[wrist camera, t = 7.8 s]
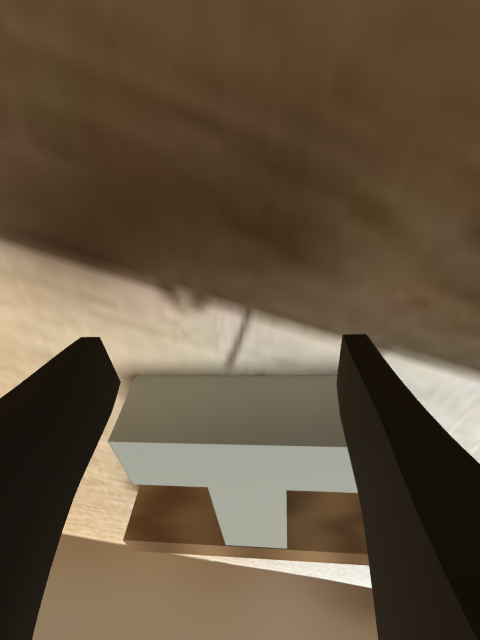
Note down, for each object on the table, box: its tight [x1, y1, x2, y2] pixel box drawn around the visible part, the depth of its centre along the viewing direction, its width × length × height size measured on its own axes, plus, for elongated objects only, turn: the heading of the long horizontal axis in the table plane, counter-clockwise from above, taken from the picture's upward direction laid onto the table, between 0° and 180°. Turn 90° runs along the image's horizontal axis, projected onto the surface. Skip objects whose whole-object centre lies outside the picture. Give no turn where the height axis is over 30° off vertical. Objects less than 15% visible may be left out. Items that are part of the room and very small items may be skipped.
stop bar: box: [123, 485, 369, 565], centre depth 24 cm, size 18×2×4 cm, turn 95°
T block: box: [108, 375, 358, 549], centre depth 20 cm, size 12×12×4 cm
